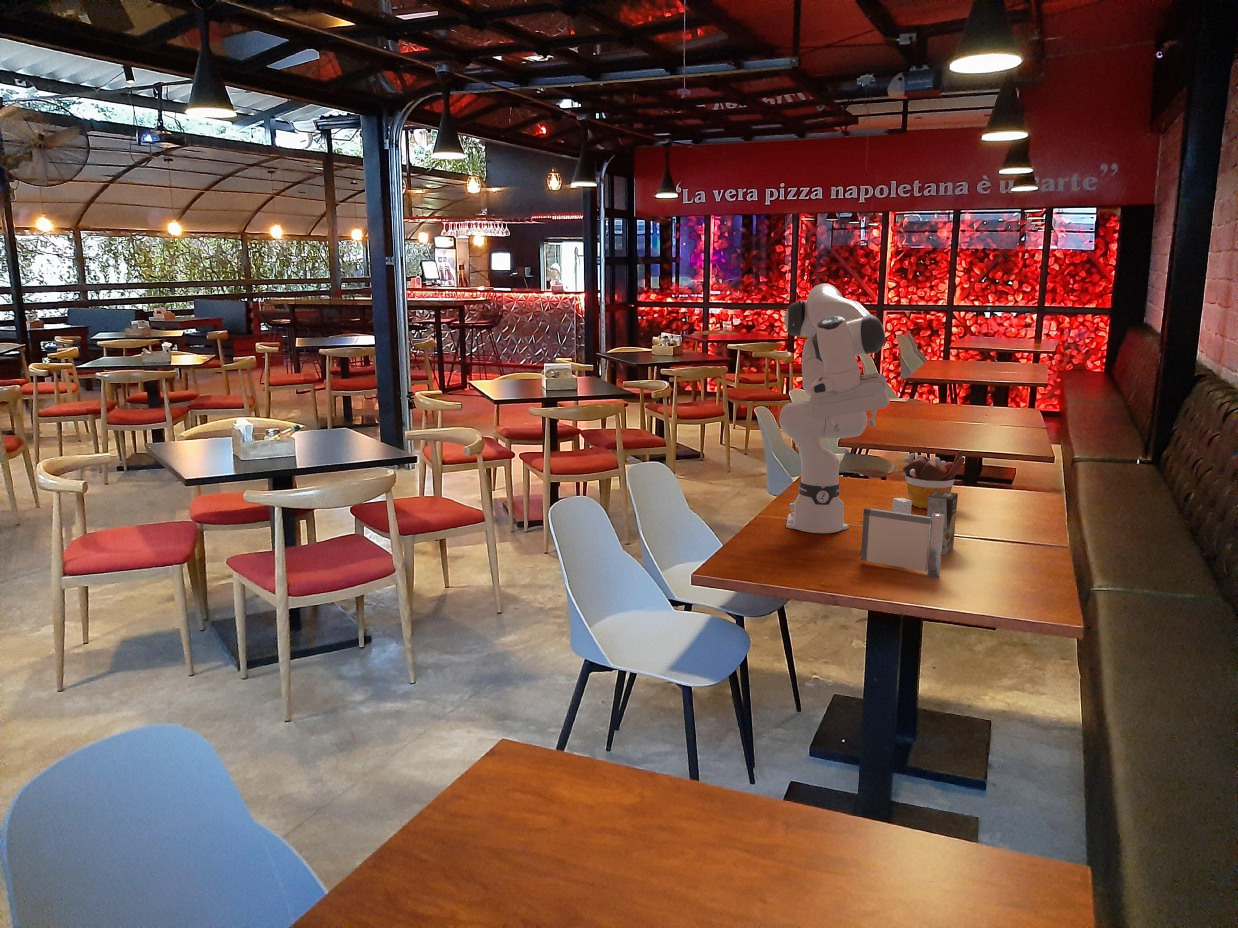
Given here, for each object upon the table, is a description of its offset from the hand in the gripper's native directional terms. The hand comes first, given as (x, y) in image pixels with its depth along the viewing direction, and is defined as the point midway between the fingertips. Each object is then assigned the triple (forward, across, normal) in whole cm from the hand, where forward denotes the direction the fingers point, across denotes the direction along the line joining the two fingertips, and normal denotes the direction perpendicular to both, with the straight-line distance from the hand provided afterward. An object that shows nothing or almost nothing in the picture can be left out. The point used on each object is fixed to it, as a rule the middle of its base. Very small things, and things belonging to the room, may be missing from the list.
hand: (854, 428), depth 239 cm
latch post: (+38, -4, +1) cm, 38 cm away
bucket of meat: (+52, -6, -65) cm, 84 cm away
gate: (+35, -4, +12) cm, 37 cm away
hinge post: (+38, -14, +15) cm, 43 cm away
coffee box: (+43, -13, -10) cm, 46 cm away
